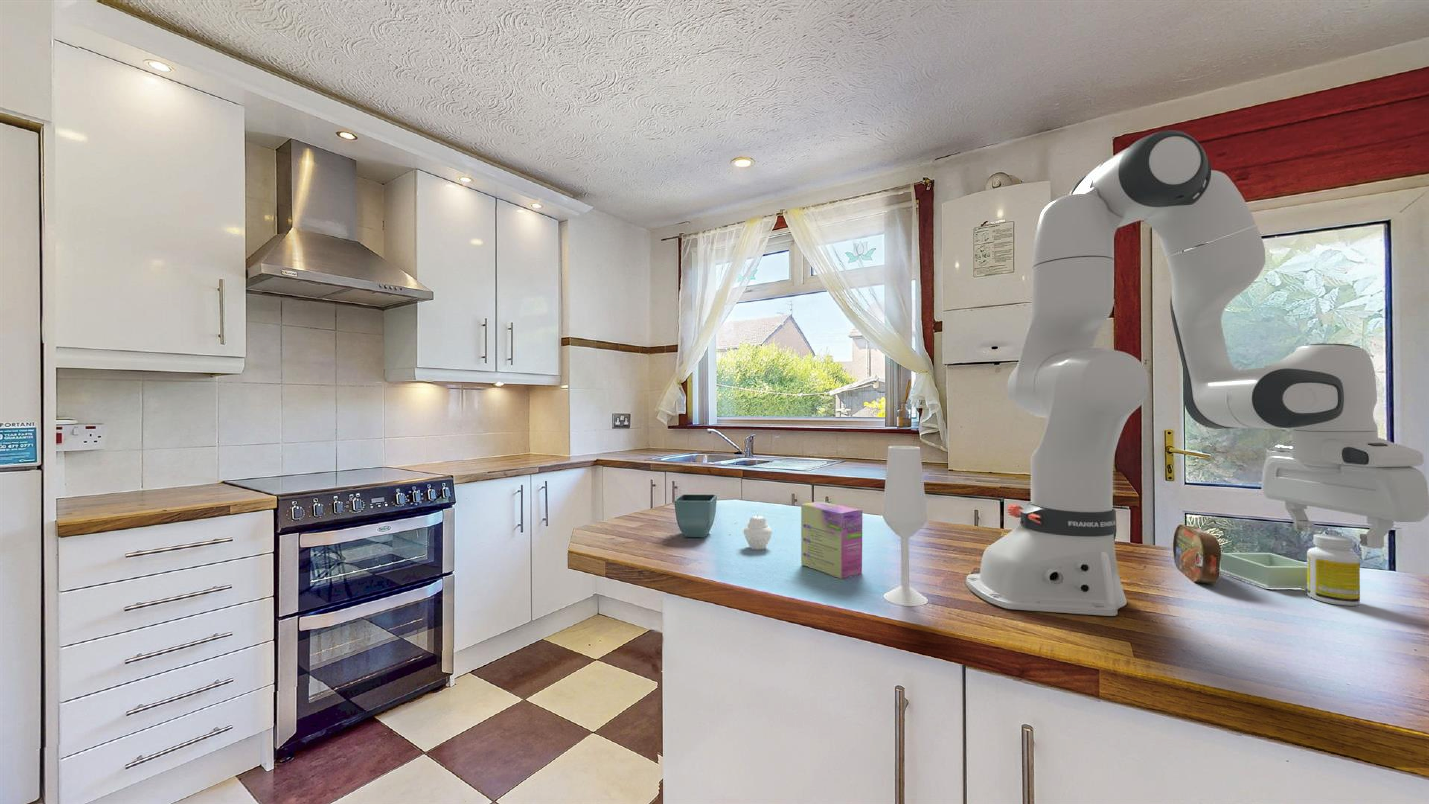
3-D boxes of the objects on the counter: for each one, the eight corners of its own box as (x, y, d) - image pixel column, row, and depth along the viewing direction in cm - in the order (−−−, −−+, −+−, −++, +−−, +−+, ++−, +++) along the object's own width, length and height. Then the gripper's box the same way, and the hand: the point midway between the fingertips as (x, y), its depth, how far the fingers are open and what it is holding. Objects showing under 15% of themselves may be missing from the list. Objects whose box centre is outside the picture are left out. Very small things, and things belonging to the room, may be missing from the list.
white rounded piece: (757, 542, 122) (756, 511, 122) (778, 547, 117) (777, 515, 117) (737, 547, 118) (737, 515, 118) (758, 553, 113) (758, 519, 113)
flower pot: (673, 539, 125) (673, 500, 125) (682, 530, 134) (681, 493, 134) (711, 540, 124) (711, 501, 124) (717, 531, 133) (717, 494, 133)
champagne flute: (884, 588, 91) (883, 445, 91) (928, 593, 89) (926, 445, 89) (881, 603, 85) (880, 448, 85) (928, 608, 82) (926, 449, 82)
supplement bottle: (1371, 608, 81) (1371, 542, 81) (1327, 605, 82) (1326, 540, 82) (1338, 595, 86) (1337, 533, 86) (1297, 593, 87) (1296, 532, 87)
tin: (1171, 564, 103) (1170, 519, 103) (1192, 566, 102) (1192, 521, 102) (1200, 588, 90) (1199, 537, 90) (1225, 591, 89) (1224, 539, 89)
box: (863, 573, 99) (862, 508, 99) (841, 579, 96) (841, 512, 96) (822, 560, 108) (821, 500, 108) (800, 565, 105) (800, 503, 105)
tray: (1267, 590, 89) (1267, 568, 89) (1217, 572, 98) (1217, 552, 98) (1326, 590, 88) (1325, 568, 88) (1270, 572, 98) (1270, 552, 98)
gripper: (1248, 444, 95) (1250, 524, 95) (1390, 456, 74) (1393, 558, 74) (1286, 443, 94) (1288, 523, 94) (1439, 455, 74) (1442, 557, 74)
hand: (1336, 538), depth 84 cm, fingers open, 8 cm apart
